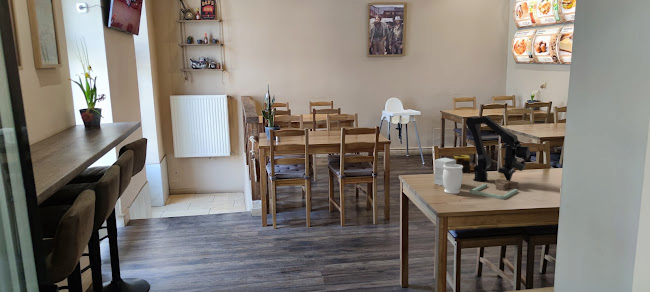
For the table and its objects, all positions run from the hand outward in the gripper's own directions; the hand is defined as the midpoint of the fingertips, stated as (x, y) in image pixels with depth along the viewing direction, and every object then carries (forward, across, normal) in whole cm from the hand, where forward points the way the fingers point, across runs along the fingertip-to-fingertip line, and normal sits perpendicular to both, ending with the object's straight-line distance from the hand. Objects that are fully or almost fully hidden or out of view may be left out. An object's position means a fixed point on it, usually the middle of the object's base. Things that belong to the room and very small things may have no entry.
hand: (508, 182), depth 278 cm
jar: (+2, -34, +18) cm, 39 cm away
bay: (+1, -20, 0) cm, 21 cm away
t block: (+2, -7, 0) cm, 7 cm away
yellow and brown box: (+2, +16, +37) cm, 40 cm away
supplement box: (+2, -22, +29) cm, 37 cm away
